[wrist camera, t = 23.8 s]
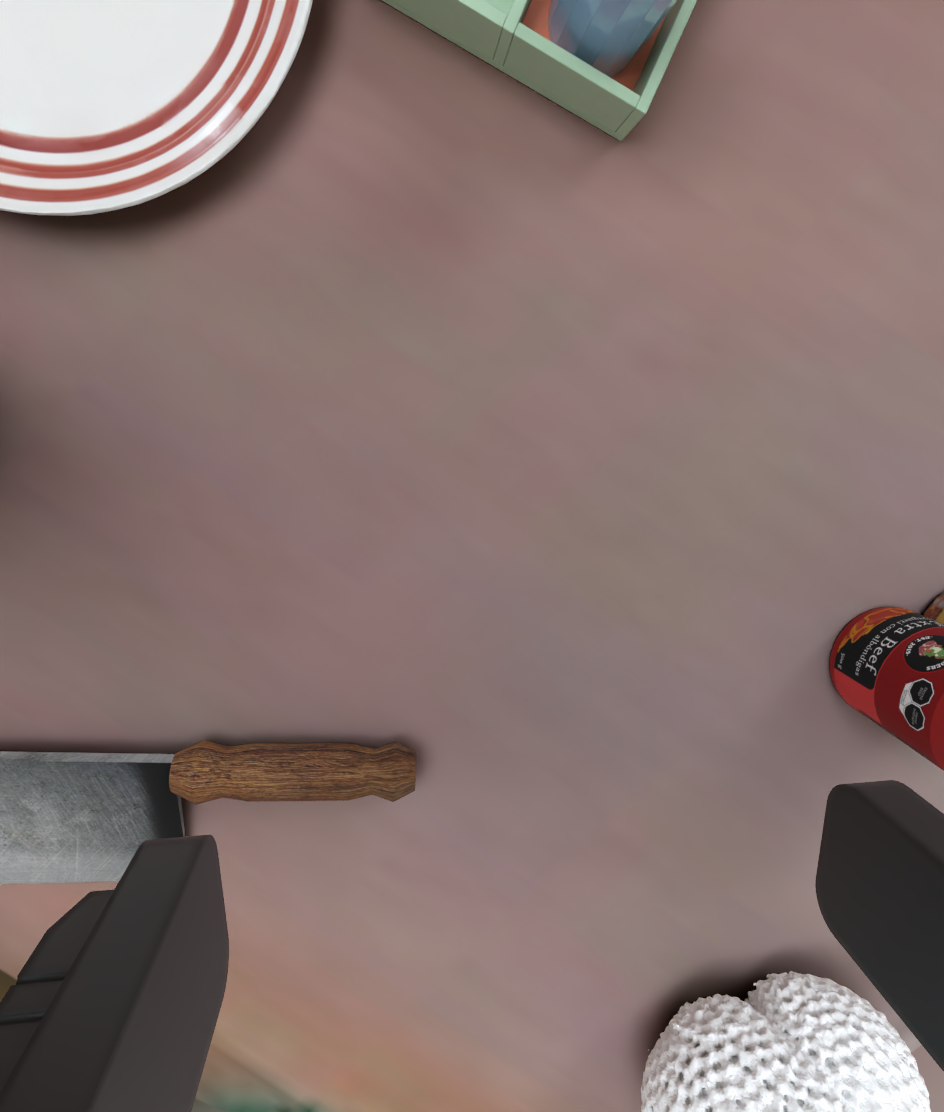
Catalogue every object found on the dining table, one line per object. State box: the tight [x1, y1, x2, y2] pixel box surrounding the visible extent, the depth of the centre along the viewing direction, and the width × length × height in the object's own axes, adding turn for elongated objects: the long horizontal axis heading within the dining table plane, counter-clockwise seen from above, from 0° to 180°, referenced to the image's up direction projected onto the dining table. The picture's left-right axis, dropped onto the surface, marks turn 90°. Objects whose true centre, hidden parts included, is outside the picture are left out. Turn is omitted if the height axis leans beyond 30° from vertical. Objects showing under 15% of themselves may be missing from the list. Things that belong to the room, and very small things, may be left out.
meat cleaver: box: [0, 741, 416, 884], centre depth 40 cm, size 34×11×4 cm, turn 86°
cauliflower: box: [640, 971, 931, 1112], centre depth 46 cm, size 20×18×16 cm
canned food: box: [830, 607, 944, 770], centre depth 40 cm, size 8×8×11 cm
